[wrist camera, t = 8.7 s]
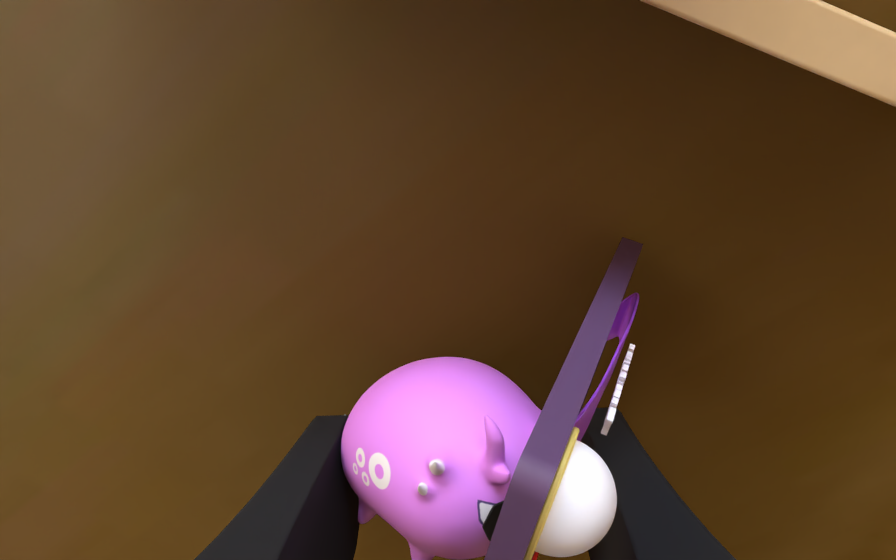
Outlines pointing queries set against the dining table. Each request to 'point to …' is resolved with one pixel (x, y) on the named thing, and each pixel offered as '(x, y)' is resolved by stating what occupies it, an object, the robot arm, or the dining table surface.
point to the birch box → (804, 38)
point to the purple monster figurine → (493, 447)
